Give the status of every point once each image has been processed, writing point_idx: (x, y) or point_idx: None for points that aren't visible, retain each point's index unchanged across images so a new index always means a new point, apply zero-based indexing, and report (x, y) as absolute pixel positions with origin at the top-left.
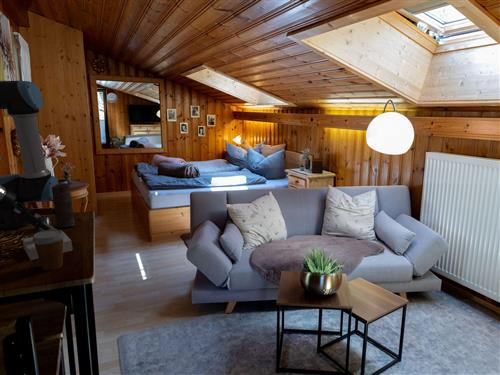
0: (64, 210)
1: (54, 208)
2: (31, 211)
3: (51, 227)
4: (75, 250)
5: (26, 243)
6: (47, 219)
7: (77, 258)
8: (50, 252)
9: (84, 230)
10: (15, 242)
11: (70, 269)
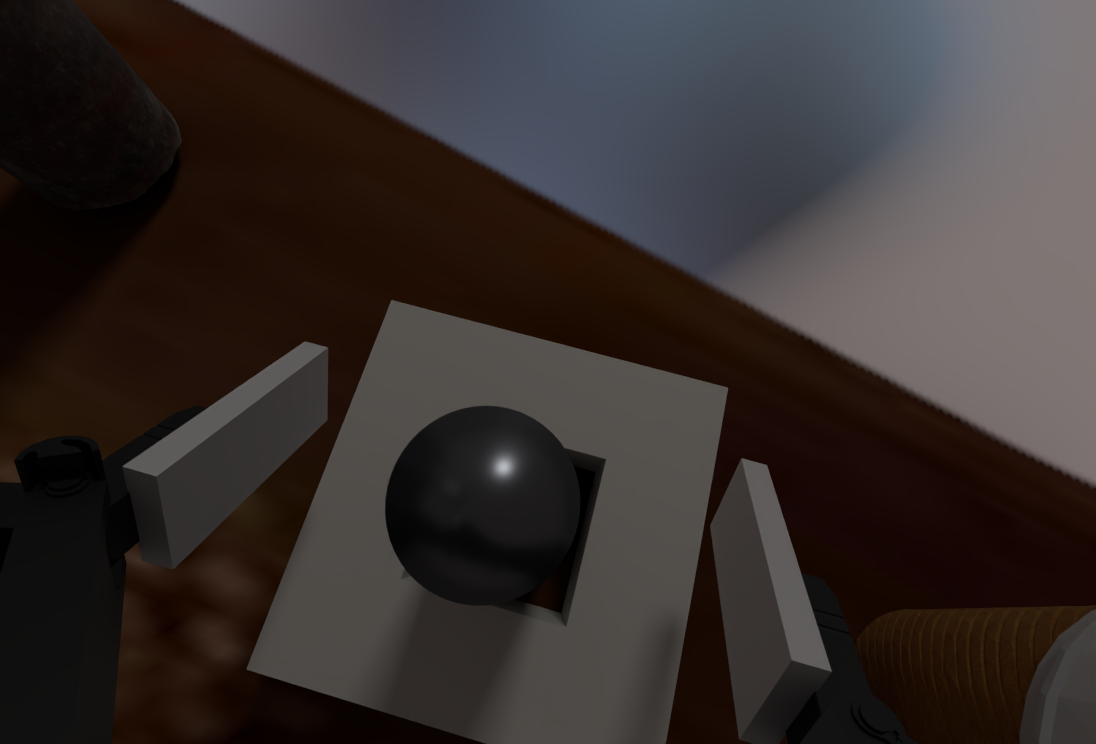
0: (34, 42)
1: None
2: (95, 569)
3: (787, 546)
4: None
5: (430, 713)
6: (573, 481)
7: (895, 476)
8: None
9: (352, 137)
10: None
11: None
